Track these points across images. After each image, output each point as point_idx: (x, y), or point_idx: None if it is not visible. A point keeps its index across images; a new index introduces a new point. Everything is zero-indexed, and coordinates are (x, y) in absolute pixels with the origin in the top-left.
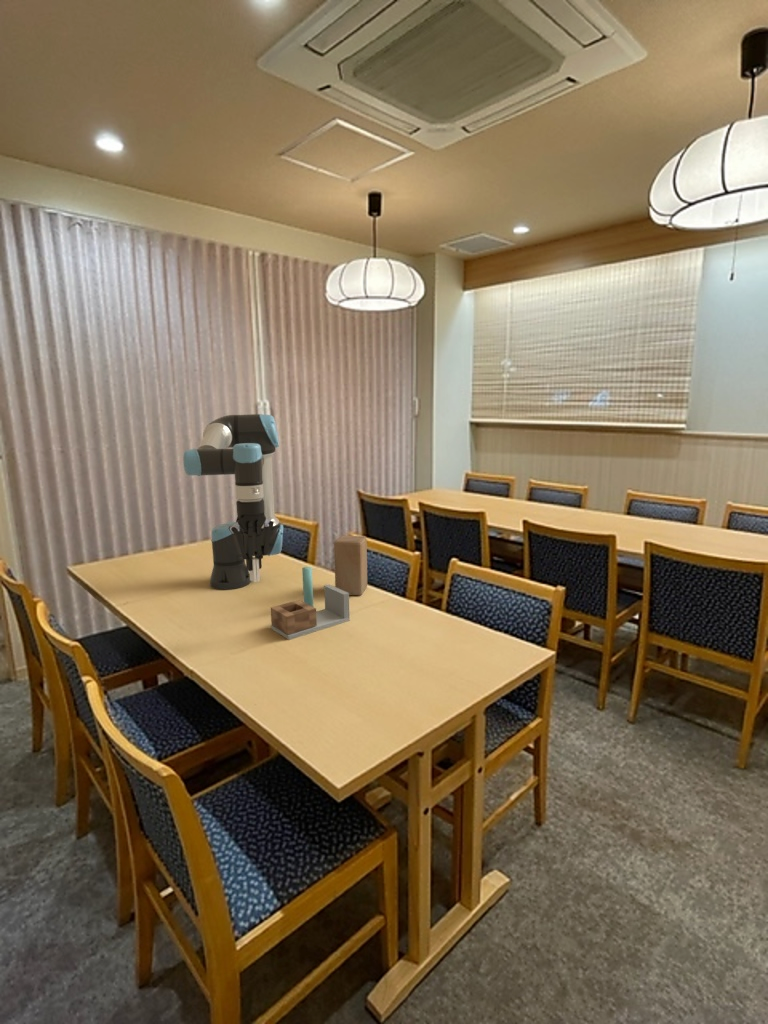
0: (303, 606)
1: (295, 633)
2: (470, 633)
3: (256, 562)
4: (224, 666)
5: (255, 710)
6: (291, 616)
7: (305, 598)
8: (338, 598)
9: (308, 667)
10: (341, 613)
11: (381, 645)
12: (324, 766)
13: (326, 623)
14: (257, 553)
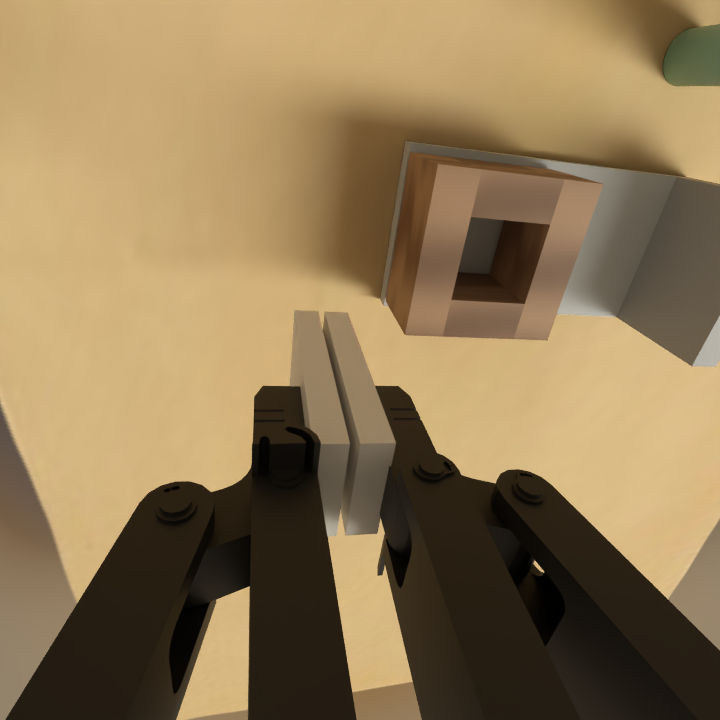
0: (539, 282)
1: None
2: (670, 545)
3: (341, 507)
4: (76, 327)
5: (79, 563)
6: (426, 333)
7: (712, 62)
8: (687, 313)
9: None
10: (634, 305)
11: None
12: None
13: None
14: (392, 586)
